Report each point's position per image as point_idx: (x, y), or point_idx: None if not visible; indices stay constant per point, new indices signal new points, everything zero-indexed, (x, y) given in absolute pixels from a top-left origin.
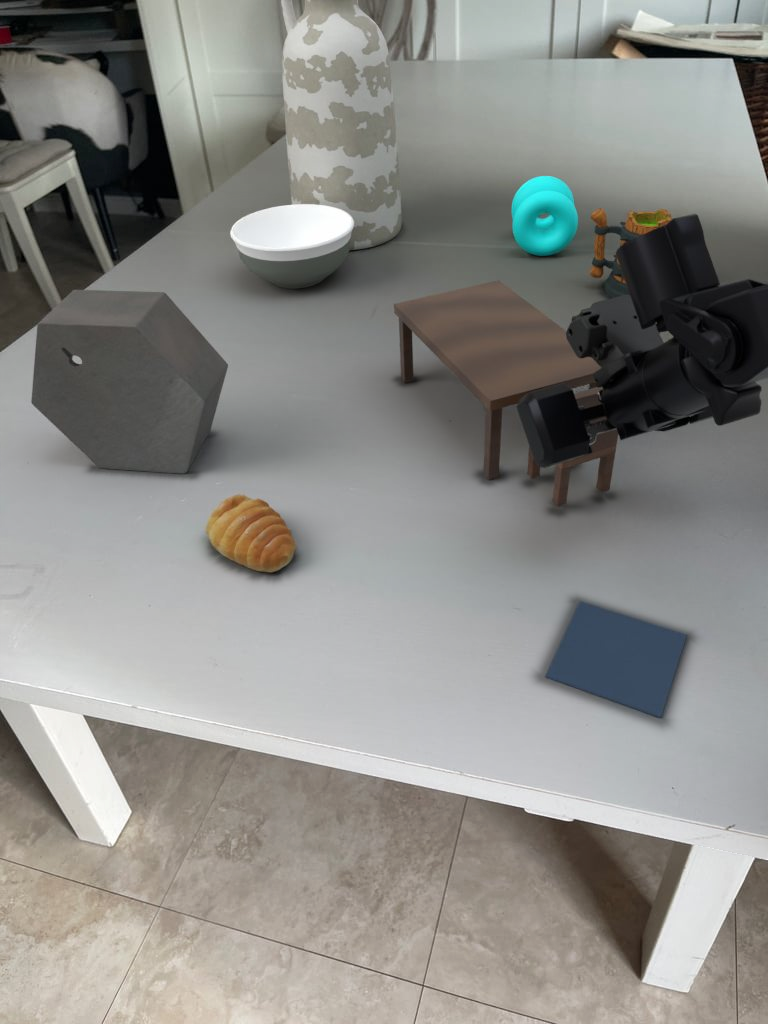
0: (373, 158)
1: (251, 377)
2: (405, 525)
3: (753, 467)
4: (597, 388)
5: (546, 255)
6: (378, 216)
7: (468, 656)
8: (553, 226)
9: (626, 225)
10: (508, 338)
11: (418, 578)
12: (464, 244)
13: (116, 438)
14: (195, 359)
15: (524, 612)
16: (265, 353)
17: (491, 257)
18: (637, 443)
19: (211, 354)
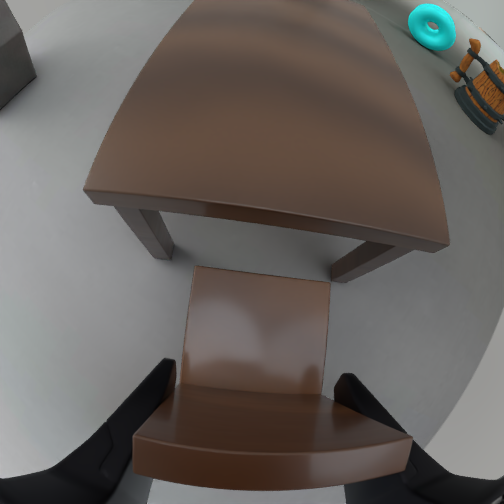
0: None
1: (115, 27)
2: (27, 274)
3: (453, 401)
4: (310, 461)
5: (424, 46)
6: None
7: (10, 458)
8: (436, 34)
9: (491, 65)
10: (304, 48)
11: (2, 357)
12: (373, 10)
13: None
14: None
15: None
16: (148, 11)
17: (386, 23)
18: (396, 303)
19: (6, 25)
